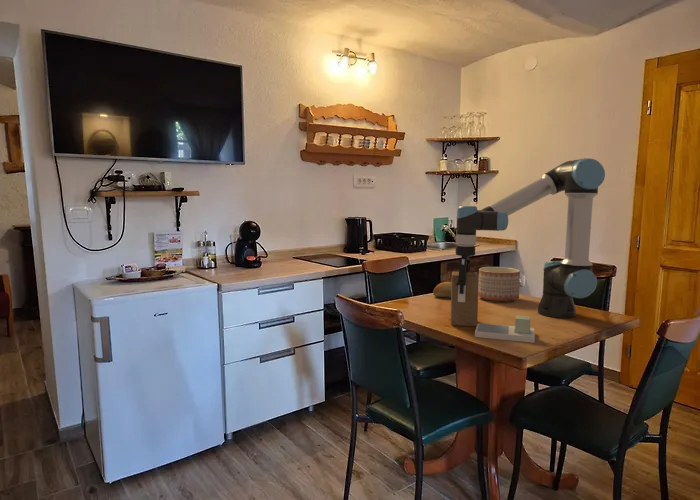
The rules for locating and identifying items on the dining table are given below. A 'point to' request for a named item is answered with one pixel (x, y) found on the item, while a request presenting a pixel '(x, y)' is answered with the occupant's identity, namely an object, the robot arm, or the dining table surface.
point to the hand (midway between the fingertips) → (463, 298)
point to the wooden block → (465, 310)
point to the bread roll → (443, 289)
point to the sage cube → (522, 324)
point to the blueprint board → (503, 333)
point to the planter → (499, 284)
